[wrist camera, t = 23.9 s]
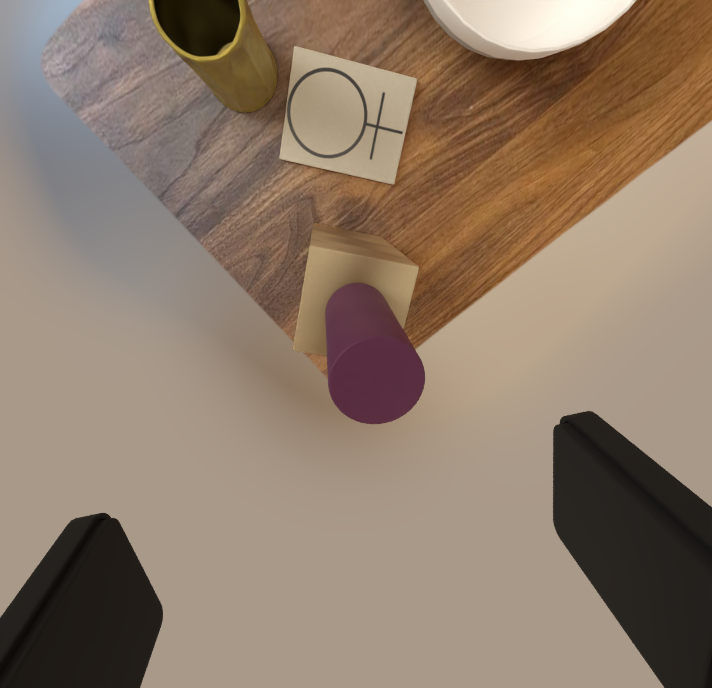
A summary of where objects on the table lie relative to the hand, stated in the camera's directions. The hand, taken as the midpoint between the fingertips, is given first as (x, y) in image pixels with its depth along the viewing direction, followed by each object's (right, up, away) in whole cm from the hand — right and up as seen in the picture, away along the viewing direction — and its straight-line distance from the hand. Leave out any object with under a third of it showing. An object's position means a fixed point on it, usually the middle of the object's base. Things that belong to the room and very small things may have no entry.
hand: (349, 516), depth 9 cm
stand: (-1, +12, +34) cm, 36 cm away
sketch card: (-1, +24, +29) cm, 38 cm away
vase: (-10, +27, +27) cm, 40 cm away
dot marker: (0, +6, +18) cm, 19 cm away
